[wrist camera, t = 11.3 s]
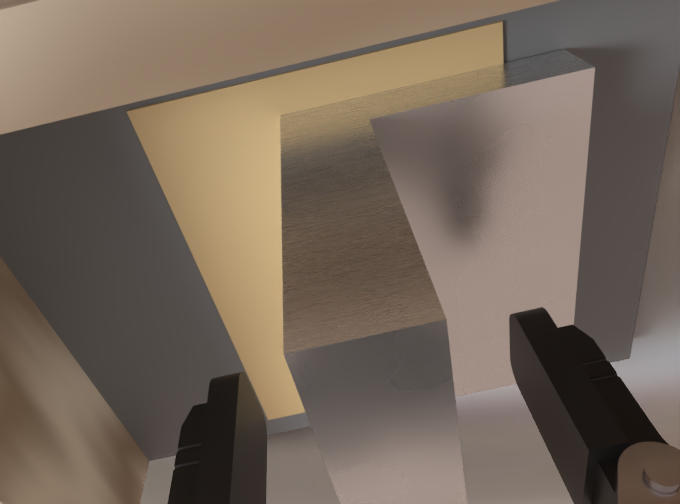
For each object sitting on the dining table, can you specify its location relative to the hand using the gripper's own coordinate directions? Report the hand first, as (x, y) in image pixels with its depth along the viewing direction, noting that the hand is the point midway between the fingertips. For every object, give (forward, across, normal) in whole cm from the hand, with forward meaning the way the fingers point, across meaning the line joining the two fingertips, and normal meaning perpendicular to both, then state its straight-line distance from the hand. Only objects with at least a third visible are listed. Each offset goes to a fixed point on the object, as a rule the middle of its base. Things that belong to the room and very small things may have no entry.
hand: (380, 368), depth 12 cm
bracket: (+4, -2, 0) cm, 5 cm away
